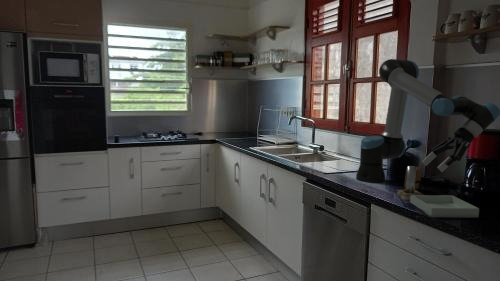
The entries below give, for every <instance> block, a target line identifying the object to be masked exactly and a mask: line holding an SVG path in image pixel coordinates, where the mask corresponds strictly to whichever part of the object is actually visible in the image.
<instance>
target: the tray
mask: <svg viewBox="0 0 500 281" xmlns="http://www.w3.org/2000/svg"><path fill="white" fill-rule="evenodd" d="M409 203H411V204H412V205H414V206H415V207H417V208H418V209H420V210H422V212H423V213H424V214H426V215H427V216H428V217H430V218H480V216H479V214H480V208H479V207H477V206H475V205H473V204H471V203H469V202H467V201H465V200H462V199H461V198H458V197H456V196H454V195H446V194H445V195H444V194H443V195H442V194H441V195H430V194H429V195H428V194H425V195H424V194H423V195H410V200H409Z"/></svg>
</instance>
